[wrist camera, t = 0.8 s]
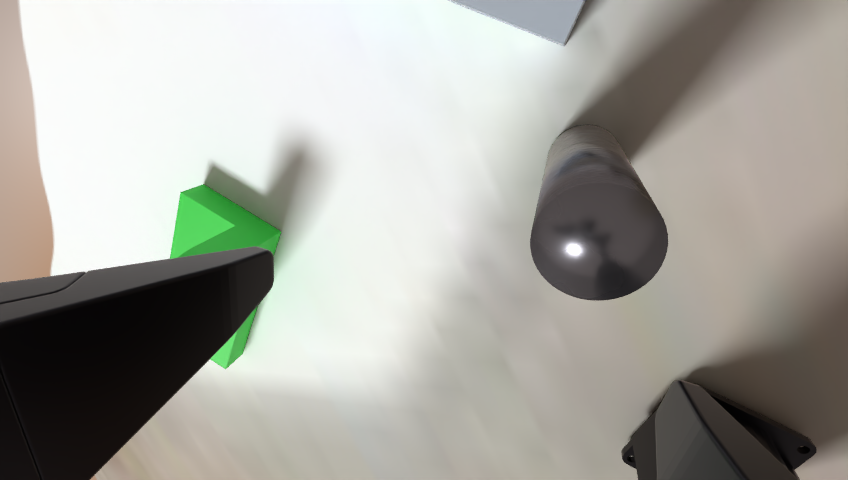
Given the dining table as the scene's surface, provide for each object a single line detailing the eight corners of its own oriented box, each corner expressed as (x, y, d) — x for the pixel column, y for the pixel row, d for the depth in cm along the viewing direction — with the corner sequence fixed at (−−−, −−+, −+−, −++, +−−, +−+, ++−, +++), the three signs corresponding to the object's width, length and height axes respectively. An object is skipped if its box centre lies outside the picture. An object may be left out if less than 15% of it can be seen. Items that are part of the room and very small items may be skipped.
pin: (636, 141, 18) (698, 217, 10) (598, 204, 20) (621, 319, 11) (567, 113, 19) (567, 161, 10) (535, 177, 20) (510, 267, 11)
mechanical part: (205, 183, 27) (78, 227, 20) (283, 230, 26) (181, 292, 20) (180, 312, 33) (75, 381, 26) (244, 352, 32) (154, 433, 25)
